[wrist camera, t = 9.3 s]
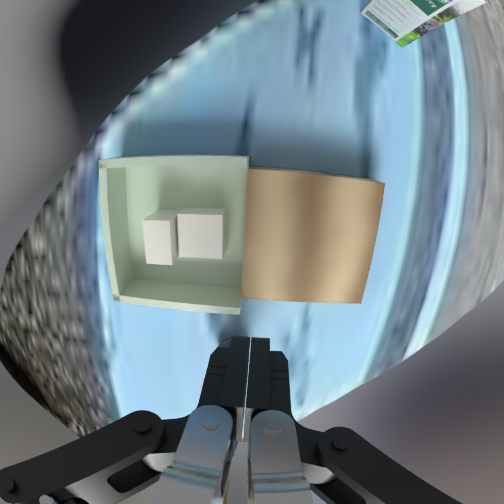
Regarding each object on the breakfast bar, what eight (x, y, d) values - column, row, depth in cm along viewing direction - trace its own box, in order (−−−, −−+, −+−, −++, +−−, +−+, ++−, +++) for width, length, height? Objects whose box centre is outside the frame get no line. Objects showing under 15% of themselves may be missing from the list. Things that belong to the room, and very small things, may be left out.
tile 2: (169, 220, 22) (142, 220, 22) (172, 265, 24) (146, 263, 24) (182, 209, 26) (158, 209, 26) (184, 248, 27) (160, 248, 27)
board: (372, 179, 25) (384, 183, 22) (353, 289, 29) (360, 303, 26) (249, 166, 25) (247, 168, 22) (243, 283, 29) (241, 298, 26)
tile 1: (226, 208, 26) (222, 215, 23) (225, 249, 27) (222, 258, 25) (184, 207, 26) (177, 213, 23) (186, 247, 27) (179, 256, 25)
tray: (250, 155, 24) (247, 157, 20) (243, 292, 29) (240, 315, 25) (121, 156, 25) (99, 159, 20) (130, 281, 30) (114, 301, 26)
